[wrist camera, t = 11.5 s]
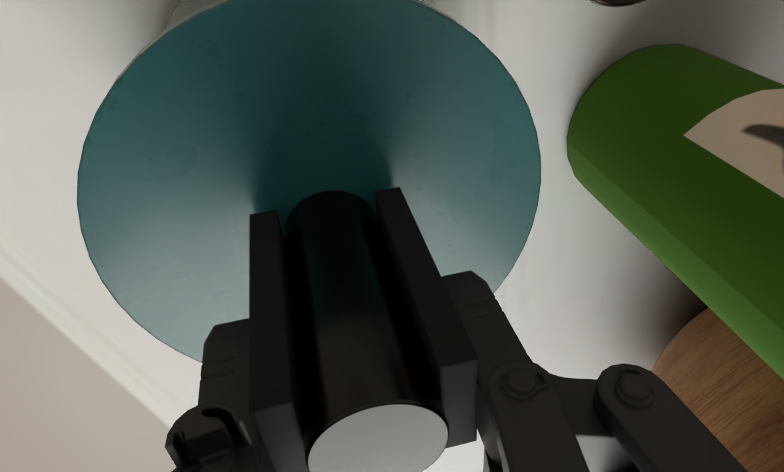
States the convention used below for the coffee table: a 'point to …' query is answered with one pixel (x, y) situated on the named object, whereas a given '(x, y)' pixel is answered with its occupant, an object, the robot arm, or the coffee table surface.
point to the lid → (311, 195)
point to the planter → (615, 2)
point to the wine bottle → (695, 177)
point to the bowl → (727, 390)
